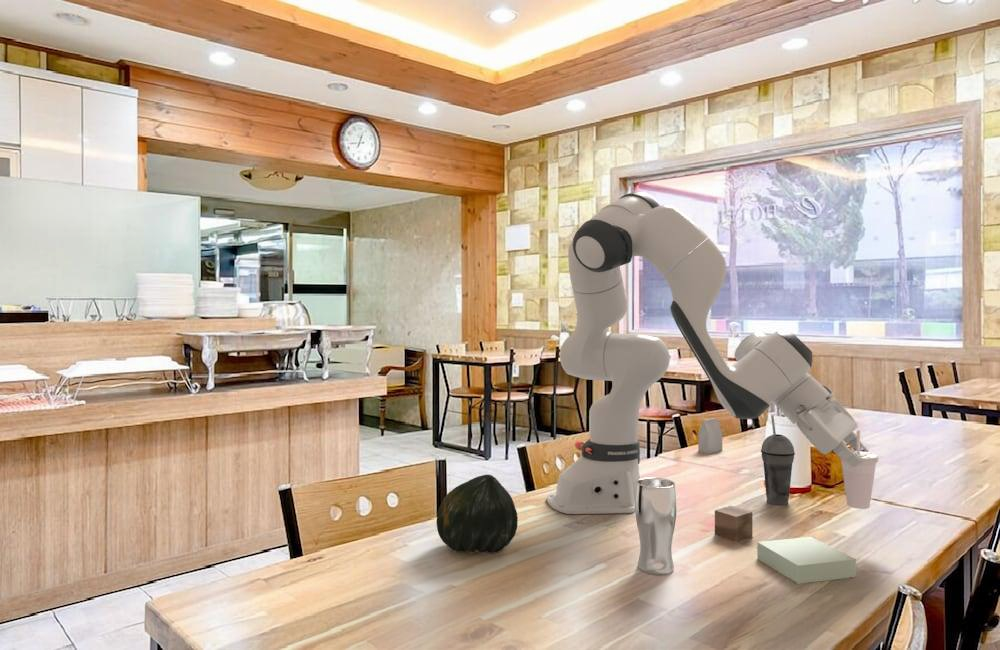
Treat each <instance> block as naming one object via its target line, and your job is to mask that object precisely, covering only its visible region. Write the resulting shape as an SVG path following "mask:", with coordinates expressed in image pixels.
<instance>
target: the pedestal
mask: <svg viewBox="0 0 1000 650" xmlns="http://www.w3.org/2000/svg"><path fill="white" fill-rule="evenodd" d="M756 544H757V545H756V546H757V548H756V549H757V556H756V557H757V560H759V561H761V562H762V563H764V564H766V565H767V566H768V567H770V568H772V569H774V570H775V571H776V572H778V573H780V574H781V575H783V576H785V577H786V578H788V579H790V580H791V581H793V582H794V583H796V584H809V583H816V582H824V581H825V582H826V581H833V580H841V579H851V578H850V577H852V578H856V577H857V575H856V574H857V572H856V571H857V559H856V558H855V557H852V556H850V555H849V554H846V553H844V552H842V551H840V550H839V549H836V548H834V547H833V546H830V545H828V544H827V543H825V542H823V541H821V540H818V539H816V538H814V537H813V536H805V537H795V538H786V539H783V538H782V539H774V540H763V541H757V543H756Z"/></svg>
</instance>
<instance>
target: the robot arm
mask: <svg viewBox="0 0 1000 650" xmlns="http://www.w3.org/2000/svg"><path fill="white" fill-rule="evenodd" d="M567 252H568V257H567V258H568V270H569V271H568V272H569V273H568V274H569V278H570V284H571V288H572V289H571V290H572V293H573V297H574V303H575V308H576V317H577V320H576V326H575V328H574V330H573V331H572V333H571V334H570V335H569V336H568V337H567V338H566V339H565V340H564V341H563V343H562V345H561V347H560V350H559V362H560V364H561V367H562V369H563V371H564V372H565V374H567V375H569V376H572V377H575V378H579V379H583V380H592V381H606V382H607V381H609V382H610V381H611V383H612V385H611V386H612V387H611V390H610V392H609V393H608V394H606V395H603V396H601V397H599V398H598V399H596V400H595V401H594V402H593V403H592V404H591V406H590V408H589V412H588V413H589V416H588V419H589V421H588V422H589V423H588V424H589V425H588V426H589V427H588V428H589V431H588V433H589V435H588V436H589V437H588V440H586V441H585V442H583V441H582V440H576V441H575V443H574V447H575V449H577V450H579V451H581V455H580V457H579V458H578V459H577V460H575V461H574V462H573V463H572V464H570V465H569V466H568V467H566V468H564V469H563V470H562V471H561V472H560V474H559V475H558V479H557V483H556V484H557V485H556V488H555V489H556V490H555V492H550V493H548V494H547V496H546V502H547V504H548V505H549V506H550V507H551V508H552V509H554V510H555V511H557V512H560V513H563V514H567V515H586V514H587V515H590V514H600V515H601V514H633V513H634V512H635V495H636V481H637V480H639V479H641V478H640V468H639V467H640V466H639V464H640V462H641V458H640V457H641V449H640V448H641V447H640V446H641V445H640V441H639V439H638V438H639V437H638V435H639V434H638V433H639V413H640V408H641V403H642V401H643V398H644V396H645V395H646V393H647V392H648V390H649V389H650V388H651V387H652V386H653V385H654V384H655V383H657V382H658V381H659V380H660V379H662V378H663V377H664V376H665V374H666V373H667V371H668V369H669V366H670V352H669V349H668V347H667V345H666V343H665V342H664V341H663V340H662V339H661V338H660V337H656V336H652V335H649V334H642V333H614V332H611V330H610V327H612V326H615V325H616V324H617V323H619V322H620V321H621V320H622V319H623V318H624V317H625V315H626V313H627V311H628V300H627V294H626V290H625V284H624V279H623V275H622V270H621V266H624V265H626V264H629V263H631V262H632V258H633V257H640V258H641V257H642V258H644V259H646V260H647V261H648V262H650V263H651V265H652V266H653V267H654V268H655V269H656V270H657V272H658V273H659V274H660V275H661V276H662V277H663V279H664V280H665V282H666V283H667V284H668V287H669V289H670V292H671V297H672V302H671V304H670V306H669V308H670V312H671V315H672V318H673V320H674V322H675V324H676V326H677V328H678V330H679V331H680V333H681V335H682V336H683V338H684V340H685V342H686V343H687V345H688V347H689V348H690V350H691V351H692V354H693V355H694V358H696V360H697V363H699V365H700V367H701V369H702V370H703V372H704V373H705V375H706V377H707V379H708V381H709V382H710V384H711V386H712V388H713V390H714V392H715V395H716V397H717V399H718V401H719V403H720V405H721V406H722V408H724V409H725V411H726V412H727V413H729V414H730V415H732V416H733V417H734V418H736V419H740V420H753V419H758V418H759V417H760V416H761V415H762V414H763V413H764V412H765V411H766V410H768V408H769V407H770V406H771V404H774V405H775V407H777V408H778V409H779V410H780V411H781V412H782V414H783V415H785V417H787V419H788V420H789V421H790V422H791V423H792V424H793V425H794V424H796V426H797V428H798V429H799V431H800V432H801V434H803V435H804V436H805V438H806V439H807V440H808V441H809V443H811V444H812V445H813V446H814V448H815V449H816V450H817V451H818V452H819V453H821V454H822V455H828V454H829V453H830V452H831V451H833V452H834V454H836V456H837V457H838V456H839V457H841V458H843V459H844V460H846V461H847V462H848V463H849V464H850V465H851V466H852V467H856V466H857V465H859V464H860V463H861V461H862V460H861V458H860V457H859V456H858V455H857V454H856V453H853V452H852V451H851V450H855V451H857V433H855V432H854V431H855V430H856V429H857V428H858V427H859V426H858V424H857V422H856V420H855V418H854V417H853V416H852V415H851V414H850V413H849V412H848V411H847V409H846V408H845V407H844V406H843V405H842V404H841V402H839V401H838V400H837V398H835V397H834V396H833V395H834V392H833V391H832V390H831V389H830V388H829V387H828V386H827V385H823V384H821V383H820V382H819V381H818V380H817V379H816V378H815V377H814V376H812V375H811V374H810V373H809V371H810V370H811V369H812V366H813V351H812V350H811V349H810V348H809V347H808V346H807V345H806V344H805V343H804V342H803V341H802V340H801V339H799V337H797V336H796V334H794V333H793V332H788V331H776V332H774V333H772V334H770V335H769V334H767V333H765V332H763V331H756V332H752V333H751V334H749V335H748V336H747V337H745V338H744V339H743V340H742V341H740V343H739V345H738V346H737V347H736V348H735V351H734V358H735V360H736V362H735V363H734V364H732V365H727V363H726V361H725V360H724V358H723V356H722V354H721V352H720V351H719V349H718V348H717V346H716V344H715V343H714V341H713V339H712V338H711V336H710V335H709V332H708V329H707V319H708V316H709V313H710V311H711V308H712V306H713V304H714V303H715V300H716V299H717V297H718V295H719V293H720V292H721V291H722V287H723V285H724V283H725V280H726V276H727V263H726V259H725V257H724V255H723V253H722V252H721V251H720V249H719V248H718V246H716V244H715V243H714V242H713V240H711V238H710V237H709V236H708V235H707V234H706V233H705V232H704V231H703V230H702V229H701V227H699V226H698V224H696V223H695V222H694V221H693V220H692V219H690V218H689V217H688V216H687V215H686V214H684V212H682V211H681V210H679V208H676V207H675V206H673V205H670V204H661V205H660V203H659V202H658V201H657V199H655V197H654V196H653V195H651V194H649V193H647V192H643V191H636V192H635V191H634V192H630V193H627V194H624V195H622V196H621V197H619V198H618V199H617V200H614V201H612V202H610V203H608V204H607V205H605V206H604V207H602V208H601V209H600V210H599V212H596V214H594V215H593V216H592V217H591V218H590V219H589V220H587V221H585V222H584V223H583V224H581V226H580V227H579V228H578V230H577V231H576V232H575V234H574V236H573V238H572V241H571V243H570V244H569V246H568V251H567ZM847 444H848V445H849V446H850V448H852V449H850V448H849V447H848V445H847ZM860 451H865V452H870V451H869V449H868V448H866V446H865V445H864V444H863V443H862V441H861V440H860Z"/></svg>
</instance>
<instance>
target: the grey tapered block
mask: <svg viewBox="0 0 1000 650" xmlns="http://www.w3.org/2000/svg"><path fill="white" fill-rule="evenodd" d="M719 422H720V421H719V418H718V417H713V418H712V417H711V418H708V419H702V422H701V426H700V428H699V430H698V433H697V434H698V435H697V437H698V439H697V440H698V442H697V443H698V451H700V452H699V453H703V452H704V454H708V453H709V454H713V452H714V453H717V452H722V451H723V429H722V428H721V425H720V423H719ZM698 451H697V452H698Z"/></svg>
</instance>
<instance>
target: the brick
mask: <svg viewBox="0 0 1000 650" xmlns="http://www.w3.org/2000/svg"><path fill="white" fill-rule="evenodd" d="M753 515H754V513H753V511H750V510H748V509H743V508H740V507H737V506H733V505H729V506H725V507H724V506H723V507H722V508H718V509H715V510H714V535H715V536H718V537H720V538H723V539H726V540H729V541H732V542H735V543H738V542H741V541H744V540H748V539H750V538H753V530H754V529H753V528H754V527H753V519H754V518H753Z"/></svg>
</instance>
